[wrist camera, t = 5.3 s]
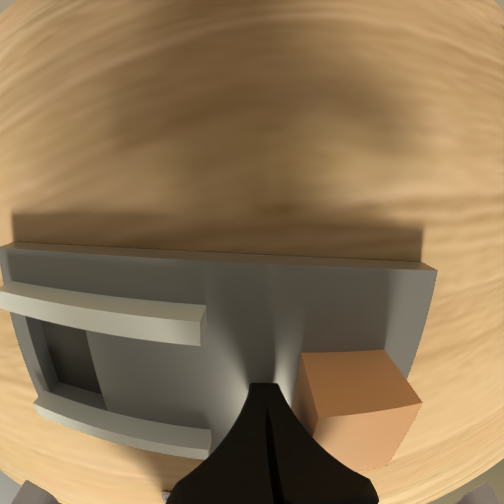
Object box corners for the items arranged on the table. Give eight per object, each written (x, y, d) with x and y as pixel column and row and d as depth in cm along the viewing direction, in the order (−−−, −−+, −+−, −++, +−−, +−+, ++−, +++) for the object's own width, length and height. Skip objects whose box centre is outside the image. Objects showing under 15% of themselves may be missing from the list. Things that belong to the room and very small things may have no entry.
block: (363, 410, 12) (387, 465, 9) (290, 416, 12) (298, 478, 9) (384, 349, 12) (422, 402, 8) (301, 352, 12) (318, 417, 8)
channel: (367, 434, 15) (380, 466, 12) (56, 403, 15) (38, 428, 12) (421, 262, 12) (456, 280, 9) (15, 241, 12) (-20, 253, 9)
